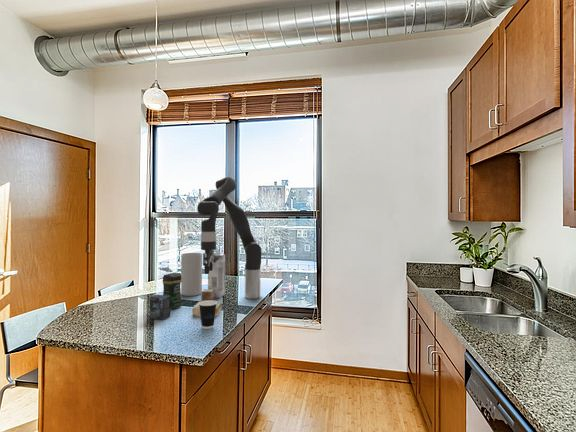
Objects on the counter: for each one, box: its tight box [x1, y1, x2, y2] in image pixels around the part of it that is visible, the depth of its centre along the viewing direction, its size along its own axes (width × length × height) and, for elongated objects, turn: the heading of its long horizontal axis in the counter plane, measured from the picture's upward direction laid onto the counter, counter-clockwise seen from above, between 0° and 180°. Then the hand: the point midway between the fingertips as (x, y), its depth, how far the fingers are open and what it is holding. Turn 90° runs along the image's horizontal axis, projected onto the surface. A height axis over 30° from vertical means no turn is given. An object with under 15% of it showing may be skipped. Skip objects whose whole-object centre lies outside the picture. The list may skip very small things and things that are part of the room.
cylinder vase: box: [180, 252, 203, 297], centre depth 206 cm, size 12×12×25 cm
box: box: [149, 294, 171, 321], centre depth 159 cm, size 8×6×11 cm
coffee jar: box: [162, 272, 182, 311], centre depth 176 cm, size 10×8×19 cm
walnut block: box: [201, 288, 215, 301], centre depth 168 cm, size 5×5×7 cm
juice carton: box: [207, 251, 226, 299], centre depth 200 cm, size 9×10×27 cm
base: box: [192, 300, 223, 317], centre depth 168 cm, size 12×12×4 cm
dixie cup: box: [198, 300, 217, 330], centre depth 147 cm, size 8×8×11 cm
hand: (208, 272), depth 168 cm, fingers open, 8 cm apart
